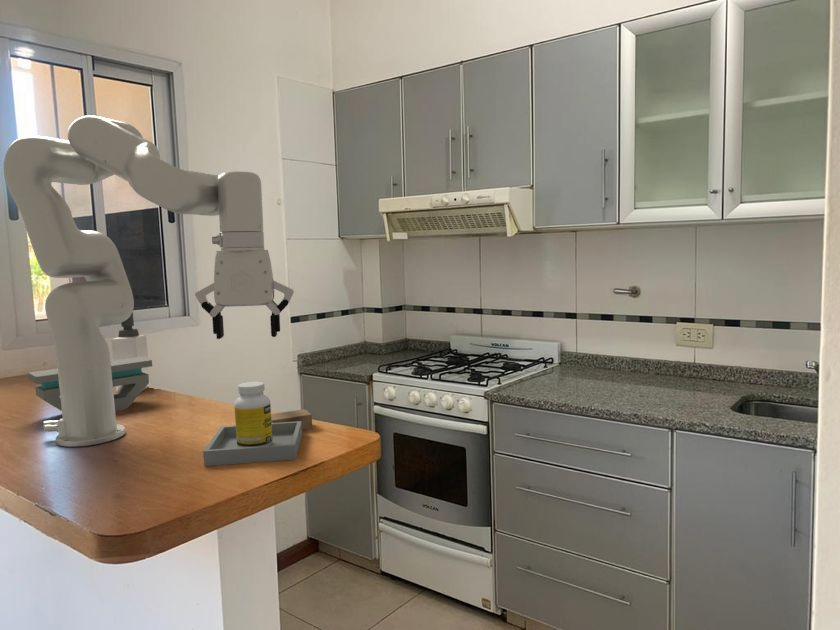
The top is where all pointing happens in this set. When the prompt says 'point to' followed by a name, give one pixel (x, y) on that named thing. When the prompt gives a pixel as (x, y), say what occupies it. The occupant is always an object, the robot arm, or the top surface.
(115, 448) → the top surface
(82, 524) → the top surface
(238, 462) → the tray
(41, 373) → the sharpening stone
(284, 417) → the walnut block
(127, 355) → the soap dispenser
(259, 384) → the pill bottle
